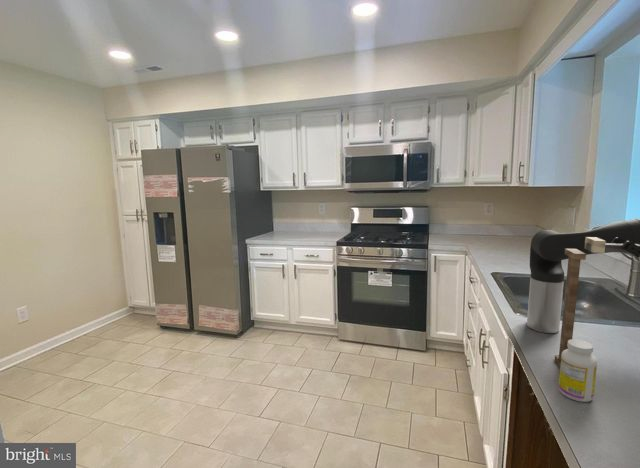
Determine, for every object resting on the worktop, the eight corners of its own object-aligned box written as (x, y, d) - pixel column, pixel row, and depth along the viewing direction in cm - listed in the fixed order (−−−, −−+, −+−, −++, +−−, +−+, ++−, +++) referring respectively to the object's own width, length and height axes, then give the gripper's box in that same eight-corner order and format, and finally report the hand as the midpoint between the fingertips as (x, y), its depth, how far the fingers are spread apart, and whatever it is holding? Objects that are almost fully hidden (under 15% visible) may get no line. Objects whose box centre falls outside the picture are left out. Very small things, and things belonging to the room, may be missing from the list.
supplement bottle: (577, 384, 83) (583, 336, 81) (600, 402, 77) (607, 350, 75) (551, 386, 83) (556, 337, 81) (572, 403, 76) (577, 351, 74)
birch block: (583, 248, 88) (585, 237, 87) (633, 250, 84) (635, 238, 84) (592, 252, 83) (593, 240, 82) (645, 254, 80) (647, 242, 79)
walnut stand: (554, 359, 95) (565, 248, 89) (564, 360, 94) (576, 248, 89) (562, 371, 89) (574, 253, 84) (573, 372, 88) (586, 253, 83)
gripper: (681, 259, 85) (614, 225, 89) (728, 275, 72) (647, 234, 75) (659, 283, 88) (594, 248, 91) (700, 302, 74) (623, 261, 77)
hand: (619, 242), depth 83 cm, fingers open, 4 cm apart
